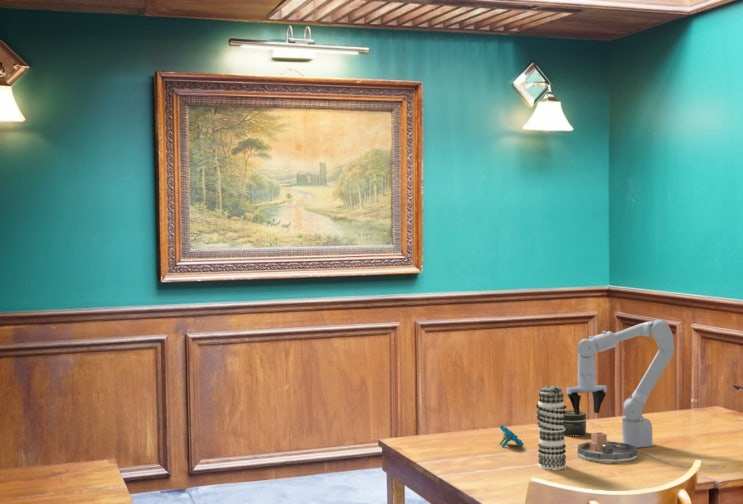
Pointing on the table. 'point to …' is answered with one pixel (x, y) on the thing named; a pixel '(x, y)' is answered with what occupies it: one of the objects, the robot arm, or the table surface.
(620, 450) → the plate
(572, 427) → the jar
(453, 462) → the table surface
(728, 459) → the table surface
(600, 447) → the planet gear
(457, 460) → the table surface
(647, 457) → the table surface
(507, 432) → the blue t-shaped piece
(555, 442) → the decorative candle
